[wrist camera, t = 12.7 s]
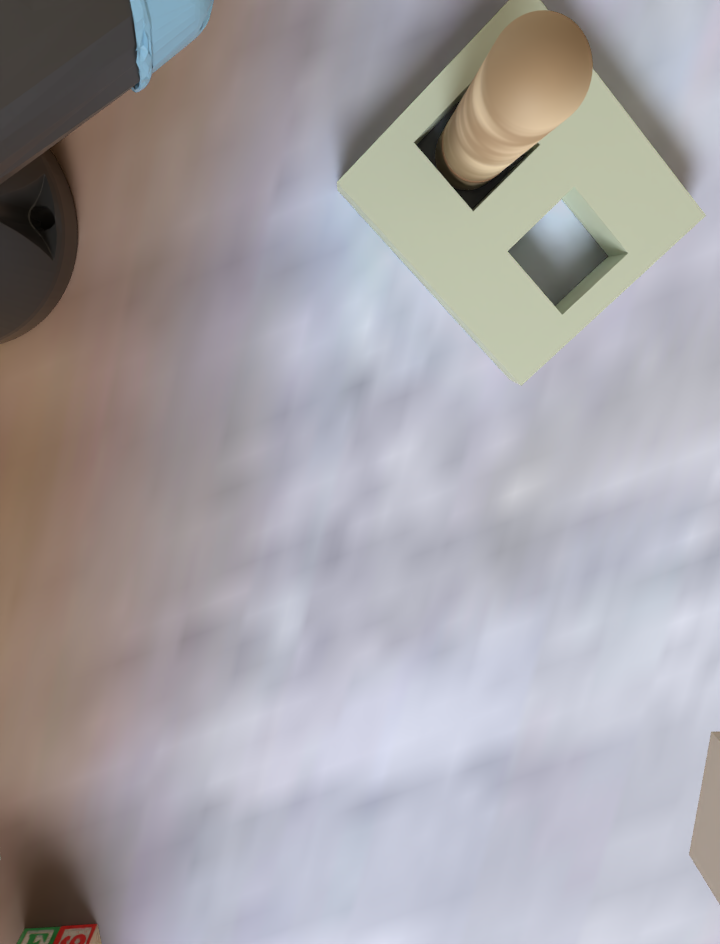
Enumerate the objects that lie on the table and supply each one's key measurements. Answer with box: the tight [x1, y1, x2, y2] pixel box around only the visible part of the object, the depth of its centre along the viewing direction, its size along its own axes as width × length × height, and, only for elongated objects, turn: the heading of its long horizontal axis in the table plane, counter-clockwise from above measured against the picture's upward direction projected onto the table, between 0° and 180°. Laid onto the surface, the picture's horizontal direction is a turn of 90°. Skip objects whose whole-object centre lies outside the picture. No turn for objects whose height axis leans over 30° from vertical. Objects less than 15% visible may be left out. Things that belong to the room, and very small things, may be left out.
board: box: [337, 0, 706, 385], centre depth 38 cm, size 16×14×3 cm
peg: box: [435, 10, 593, 190], centre depth 32 cm, size 4×4×15 cm
